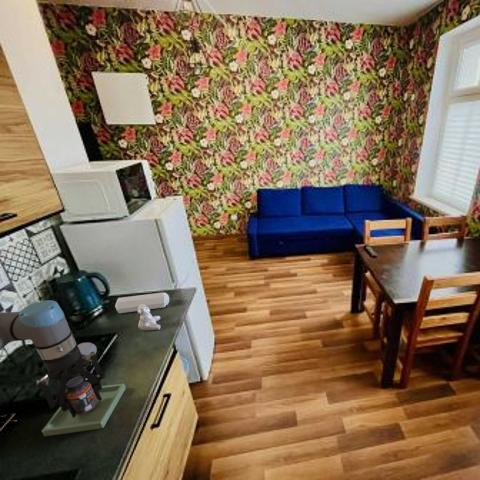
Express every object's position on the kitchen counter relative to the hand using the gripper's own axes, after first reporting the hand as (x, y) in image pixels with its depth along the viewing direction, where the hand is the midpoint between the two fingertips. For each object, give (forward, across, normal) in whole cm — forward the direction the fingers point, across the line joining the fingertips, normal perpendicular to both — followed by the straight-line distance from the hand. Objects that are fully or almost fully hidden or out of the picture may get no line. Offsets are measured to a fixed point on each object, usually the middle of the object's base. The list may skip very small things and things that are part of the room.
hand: (86, 405), depth 85 cm
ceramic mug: (+2, +4, +24) cm, 25 cm away
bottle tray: (+2, 0, 0) cm, 2 cm away
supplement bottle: (+1, 0, 0) cm, 1 cm away
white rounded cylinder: (+2, +35, +43) cm, 55 cm away
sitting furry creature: (+2, +30, +26) cm, 39 cm away
